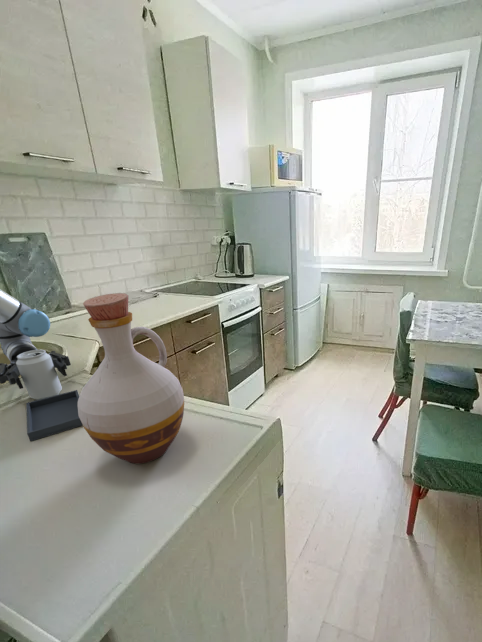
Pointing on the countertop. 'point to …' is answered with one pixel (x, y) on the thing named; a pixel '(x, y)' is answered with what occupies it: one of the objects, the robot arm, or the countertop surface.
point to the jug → (129, 388)
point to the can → (38, 374)
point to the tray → (52, 415)
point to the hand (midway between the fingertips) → (42, 377)
